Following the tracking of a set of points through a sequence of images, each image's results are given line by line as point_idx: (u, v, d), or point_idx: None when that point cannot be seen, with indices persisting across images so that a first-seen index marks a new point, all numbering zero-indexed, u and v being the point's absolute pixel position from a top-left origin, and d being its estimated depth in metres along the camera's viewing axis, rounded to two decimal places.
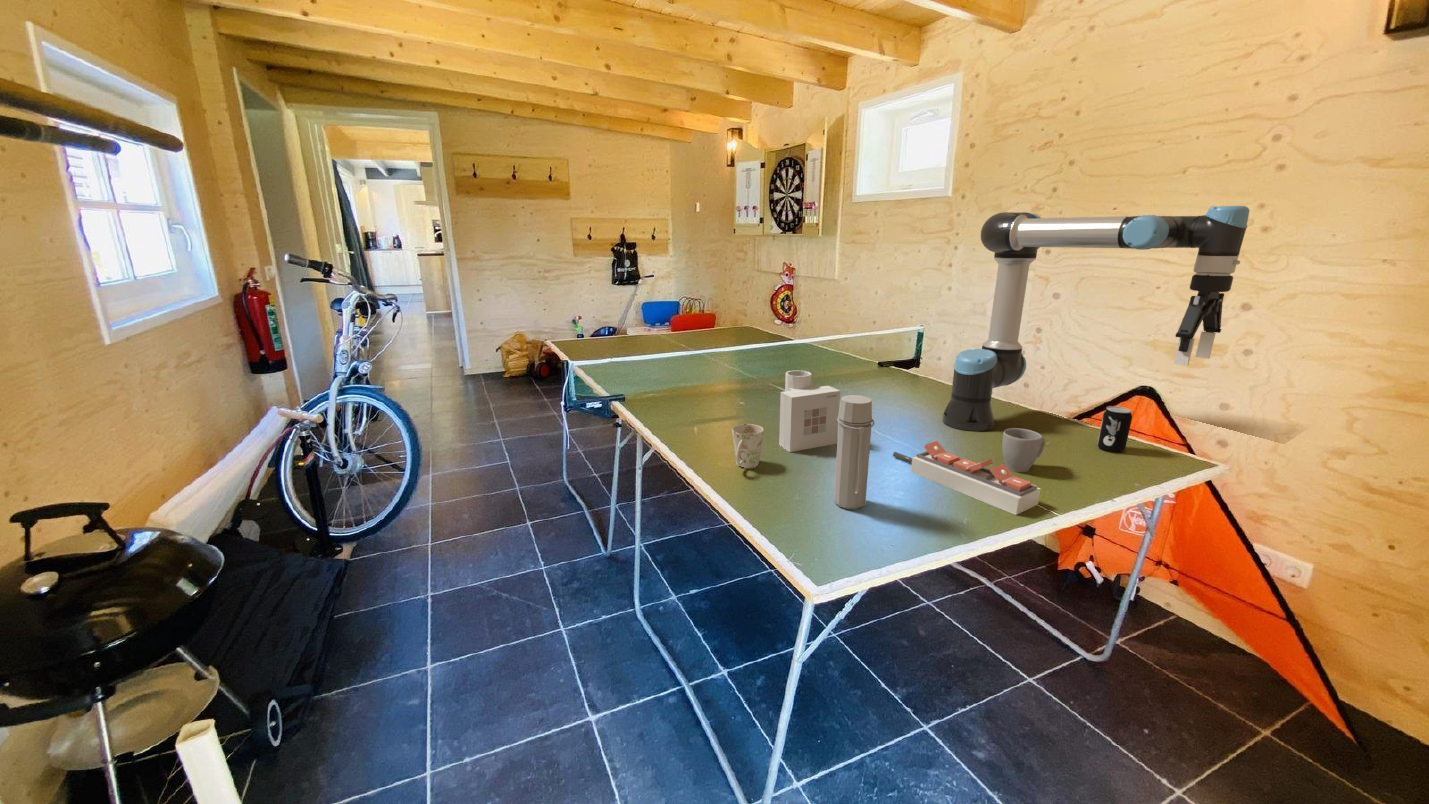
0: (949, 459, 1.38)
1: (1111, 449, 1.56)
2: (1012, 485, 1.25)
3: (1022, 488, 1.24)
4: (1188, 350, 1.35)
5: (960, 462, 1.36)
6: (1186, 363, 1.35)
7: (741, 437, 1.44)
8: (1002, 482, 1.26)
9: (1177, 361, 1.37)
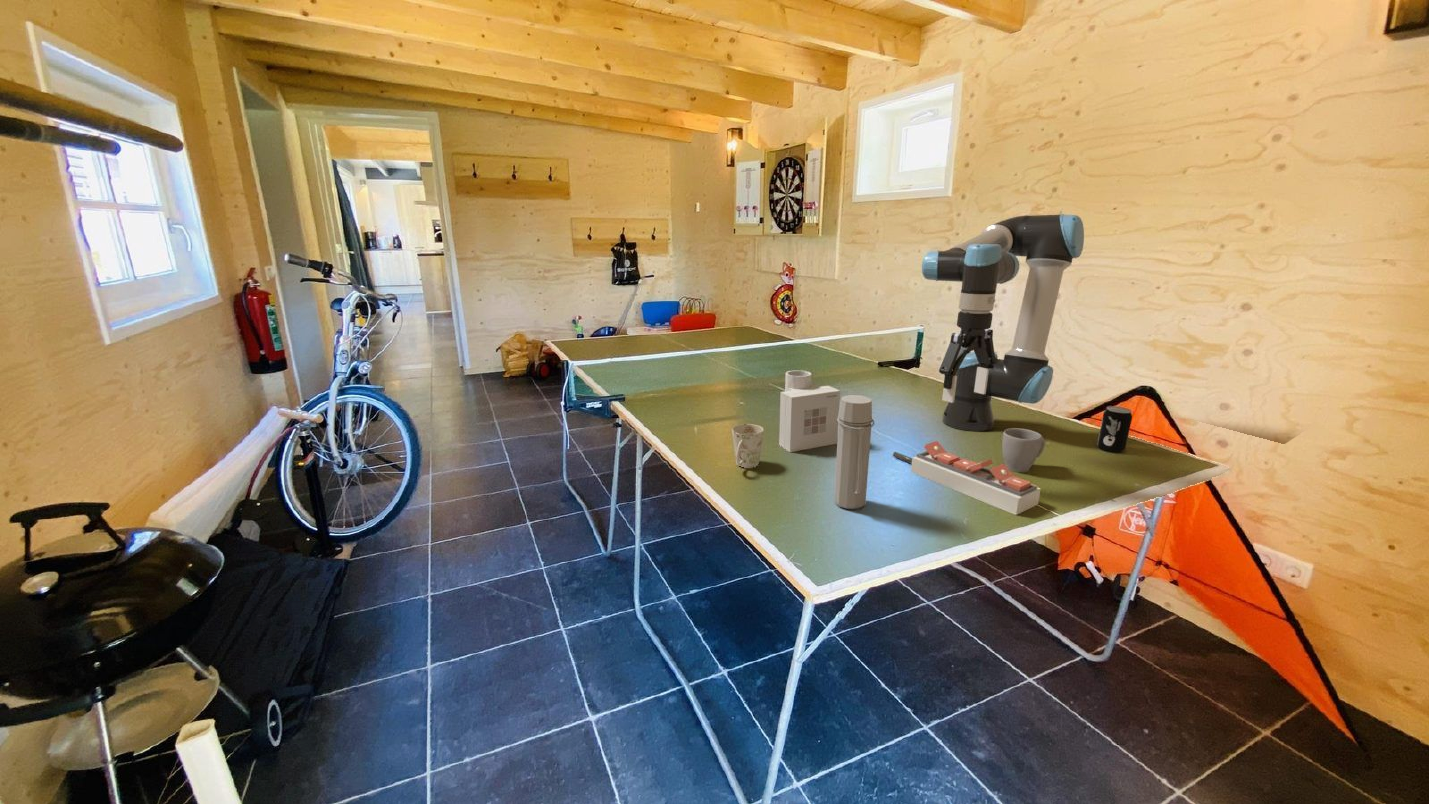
0: (949, 459, 1.38)
1: (1111, 449, 1.56)
2: (1012, 485, 1.25)
3: (1022, 488, 1.24)
4: (952, 388, 1.34)
5: (960, 462, 1.36)
6: (951, 400, 1.34)
7: (741, 437, 1.44)
8: (1002, 482, 1.26)
9: (944, 398, 1.36)
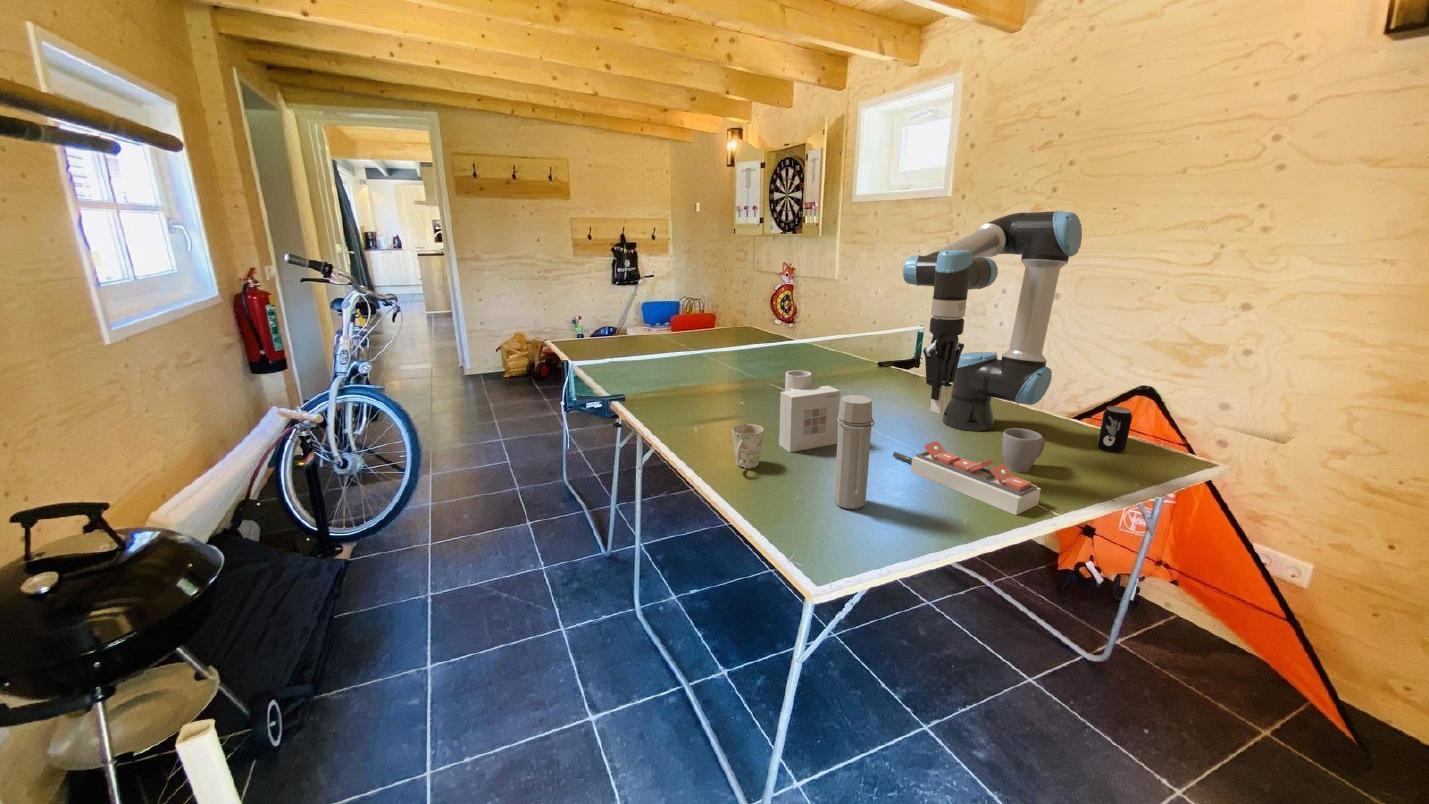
0: (949, 459, 1.38)
1: (1111, 449, 1.56)
2: (1012, 485, 1.25)
3: (1022, 488, 1.24)
4: (939, 399, 1.38)
5: (960, 462, 1.36)
6: (938, 411, 1.39)
7: (741, 437, 1.44)
8: (1002, 482, 1.26)
9: (932, 408, 1.40)
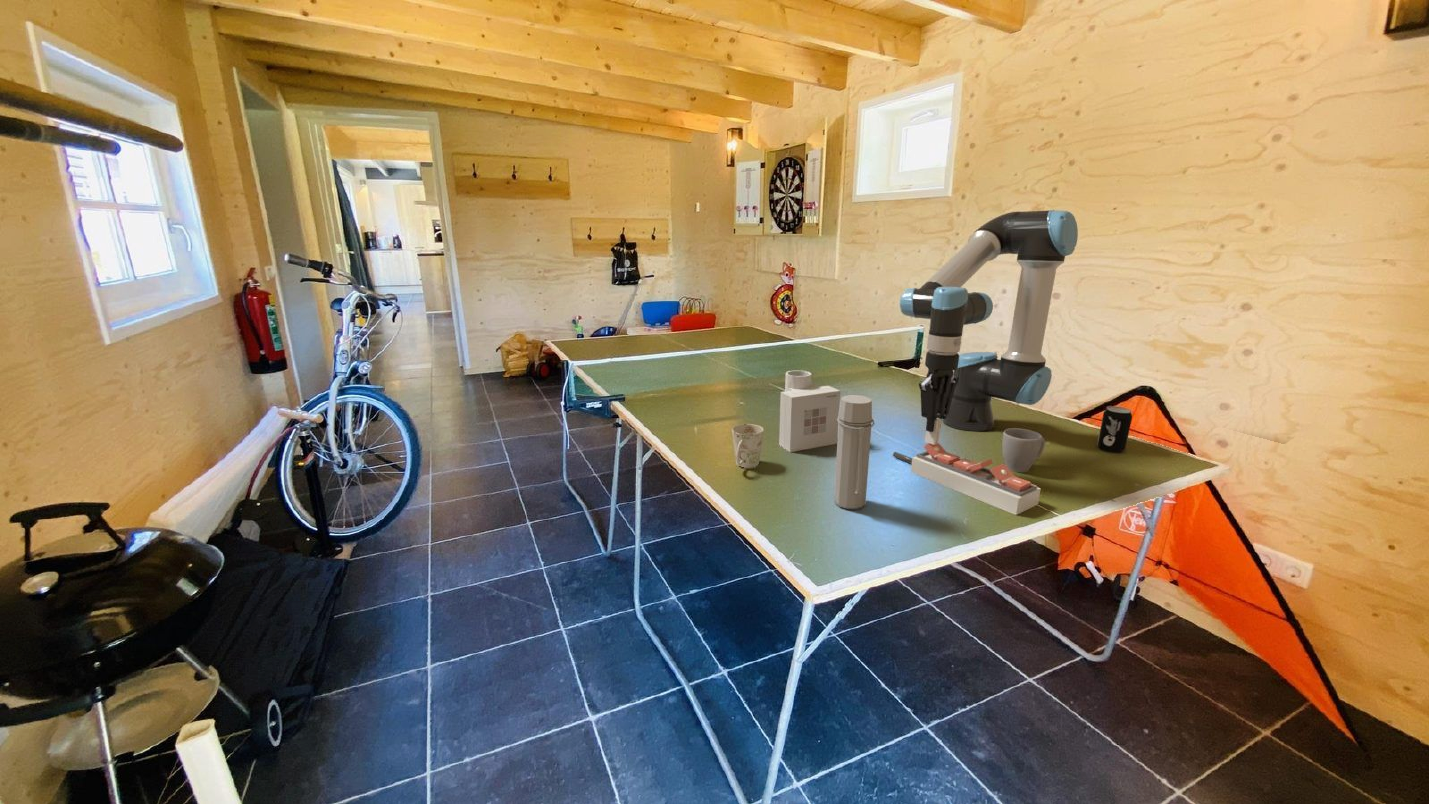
0: (949, 459, 1.38)
1: (1111, 449, 1.56)
2: (1012, 485, 1.25)
3: (1022, 488, 1.24)
4: (933, 431, 1.41)
5: (960, 462, 1.36)
6: (933, 442, 1.42)
7: (741, 437, 1.44)
8: (1002, 482, 1.26)
9: (927, 440, 1.43)
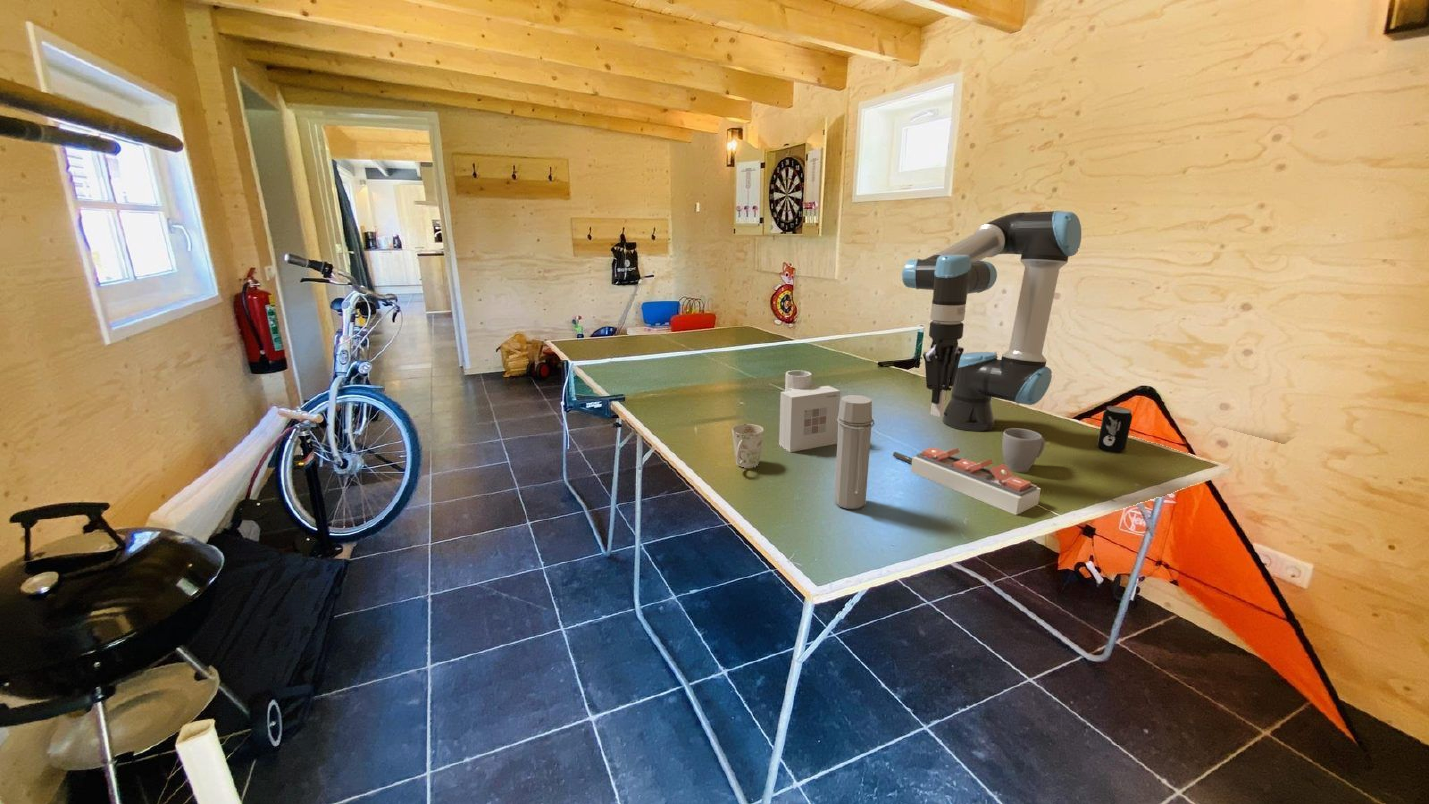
0: (947, 451, 1.38)
1: (1111, 449, 1.56)
2: (1012, 485, 1.25)
3: (1022, 488, 1.24)
4: (939, 402, 1.39)
5: (960, 462, 1.36)
6: (939, 414, 1.40)
7: (741, 437, 1.44)
8: (1002, 482, 1.26)
9: (933, 412, 1.41)
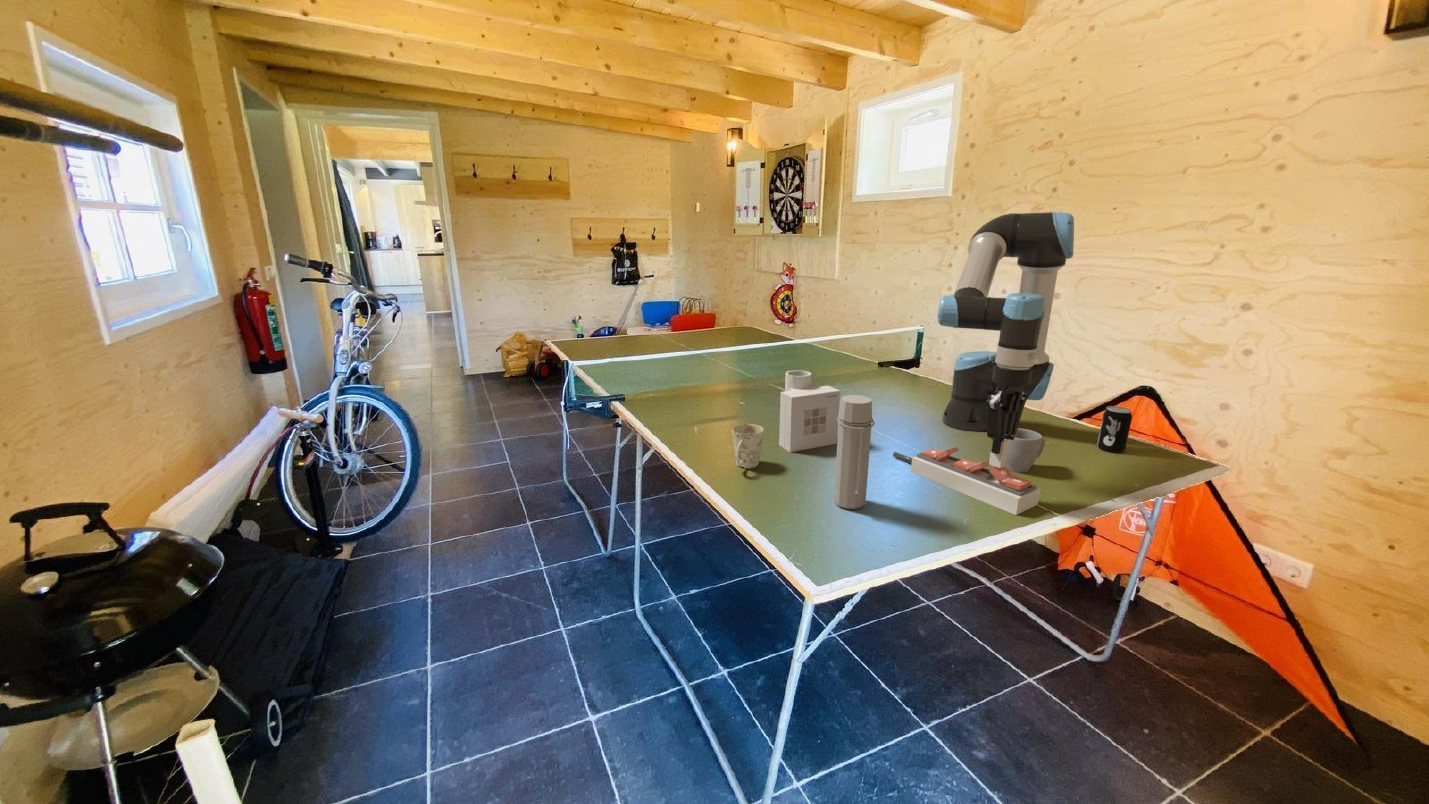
0: (947, 450, 1.38)
1: (1111, 449, 1.56)
2: (1012, 484, 1.25)
3: (1022, 487, 1.24)
4: (1000, 453, 1.27)
5: (960, 462, 1.36)
6: (999, 466, 1.28)
7: (741, 437, 1.44)
8: (1002, 482, 1.26)
9: (991, 462, 1.29)
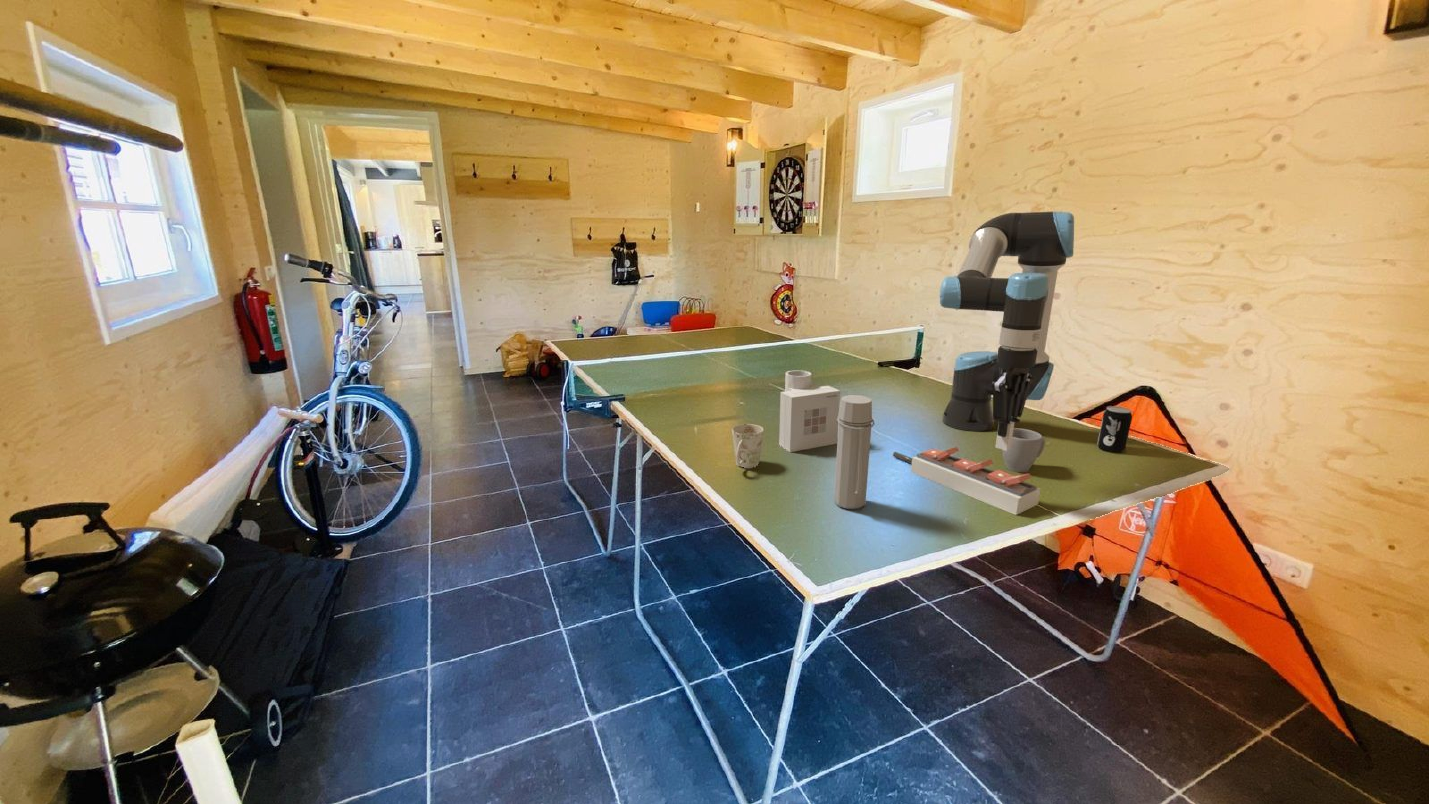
0: (947, 450, 1.38)
1: (1111, 449, 1.56)
2: (1011, 480, 1.24)
3: (1022, 479, 1.24)
4: (1006, 435, 1.26)
5: (960, 462, 1.36)
6: (1005, 448, 1.26)
7: (741, 437, 1.44)
8: (1002, 482, 1.26)
9: (998, 445, 1.28)
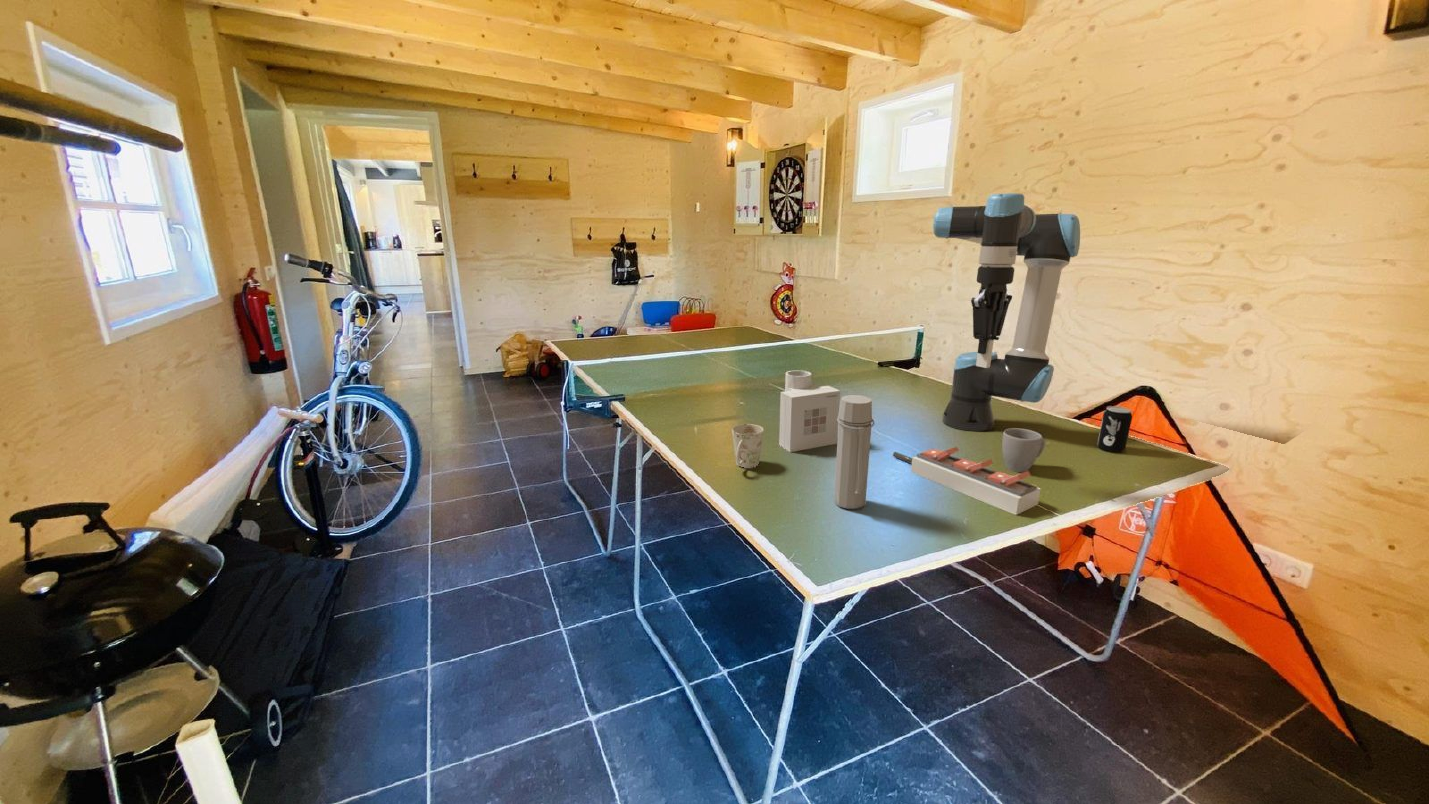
0: (947, 450, 1.38)
1: (1111, 449, 1.56)
2: (1011, 479, 1.25)
3: (1021, 477, 1.24)
4: (986, 352, 1.32)
5: (960, 462, 1.36)
6: (985, 365, 1.33)
7: (741, 437, 1.44)
8: (1002, 482, 1.26)
9: (978, 363, 1.35)
